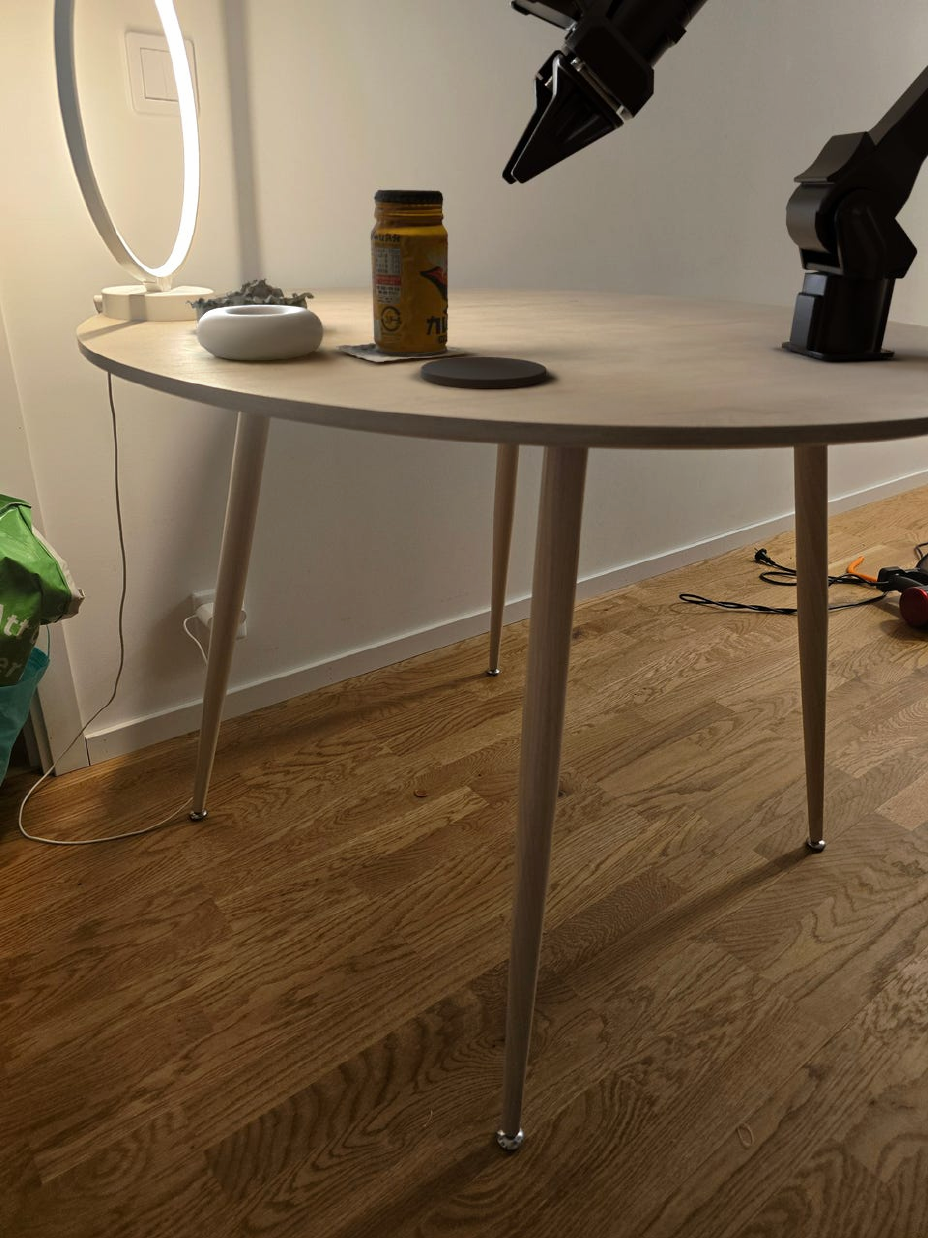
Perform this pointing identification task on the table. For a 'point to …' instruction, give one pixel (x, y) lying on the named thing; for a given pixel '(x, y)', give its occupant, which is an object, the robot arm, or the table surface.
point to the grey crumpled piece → (251, 298)
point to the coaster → (483, 372)
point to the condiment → (408, 278)
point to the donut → (259, 332)
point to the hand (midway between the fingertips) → (510, 179)
